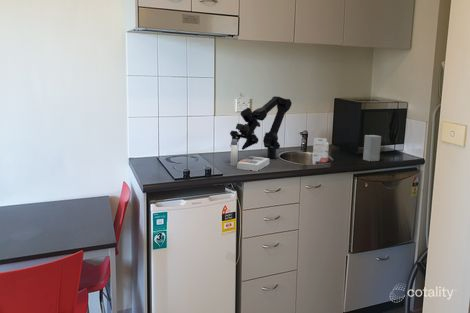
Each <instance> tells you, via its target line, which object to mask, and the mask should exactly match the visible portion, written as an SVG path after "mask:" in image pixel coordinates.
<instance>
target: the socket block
mask: <svg viewBox="0 0 470 313" xmlns="http://www.w3.org/2000/svg"><path fill="white" fill-rule="evenodd" d="M270 159H271V158H266V157H261V156H253V155H252V156H247V157H246V158H243V159H241V160H240V161H238V162H237V166H236V169H237V170H245V171H250V170H252V171H251V172H259V171H260V170H262V169H263V168H265V167H268V166H269V165H270ZM258 170H259V171H258Z"/></svg>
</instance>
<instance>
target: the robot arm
mask: <svg viewBox="0 0 470 313" xmlns="http://www.w3.org/2000/svg"><path fill="white" fill-rule="evenodd" d="M292 104H293V103H292V100H291V99H290V98H285V97H284V98H283V97H280V96H275V95H274V96H272V97H271V99H270V100H269V101H267V102H266V103H265V104H264V105H263V106H261V107H258V108H256V109H255V110H254V109H253V111H252V109H251V107H246V108H245V109H243V110H242V111H241V112H240V116H241V118H242V119H243V120H244V122H245V123H244V124H243V123H236V127H235V129H236V130H230V132H229V134H230V136H231V141H230V145H229V146H230V148H231V144H232V139H237V143H239V140H240V139H246V140H245V142H244V143H243V145H242V146H241V150H242V151H243V150H245V149H247V148H249V147H251V146H253V145H255V144H258V143H259V137H257V135H256V134H255V130H256V129H257V128H260V127H261V123H260V122H259V121H261V122H262V121H264V120H265V119H266V118H267V116H268V114H269V112H270V111H272V110H273V109H274V108H275V107H276V110H277V111H276V114H275V117H274V119H273V122H272V125H271V127H270V130H269V131H268V132H265V133H264V136H263V140H262V141H263V146H264V148H267V149H266V150H267V151H266V157H265V158H270V159H274V160H276V159H277V158H278V156H277V150H279V149H280V148H281V144H280V143H279V141H278V140H279V138H278V137H279V136H278V133H279V131H280V128H281V125H282V122H283V120H284V117H285V114H286V113H287V112H288V111H289V110H290V109H291V106H292ZM237 130H238V131H237Z"/></svg>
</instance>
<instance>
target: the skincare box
mask: <svg viewBox="0 0 470 313" xmlns="http://www.w3.org/2000/svg"><path fill="white" fill-rule="evenodd" d="M363 144H364V145H363V153H362V156H363V157H362V160H363V161H367V162H370V161H371V162H379V161H380V157H381V146H382V145H381V144H382V135H375V134H369V135H368V134H365V135H364V142H363Z"/></svg>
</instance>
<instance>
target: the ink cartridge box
mask: <svg viewBox="0 0 470 313" xmlns="http://www.w3.org/2000/svg"><path fill="white" fill-rule="evenodd" d="M329 144H330V143H329V142H328V139H327V138H324V137H313V143H312V147H313V148H312V161H313V162H318V163H327V162H328V160H329Z"/></svg>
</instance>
